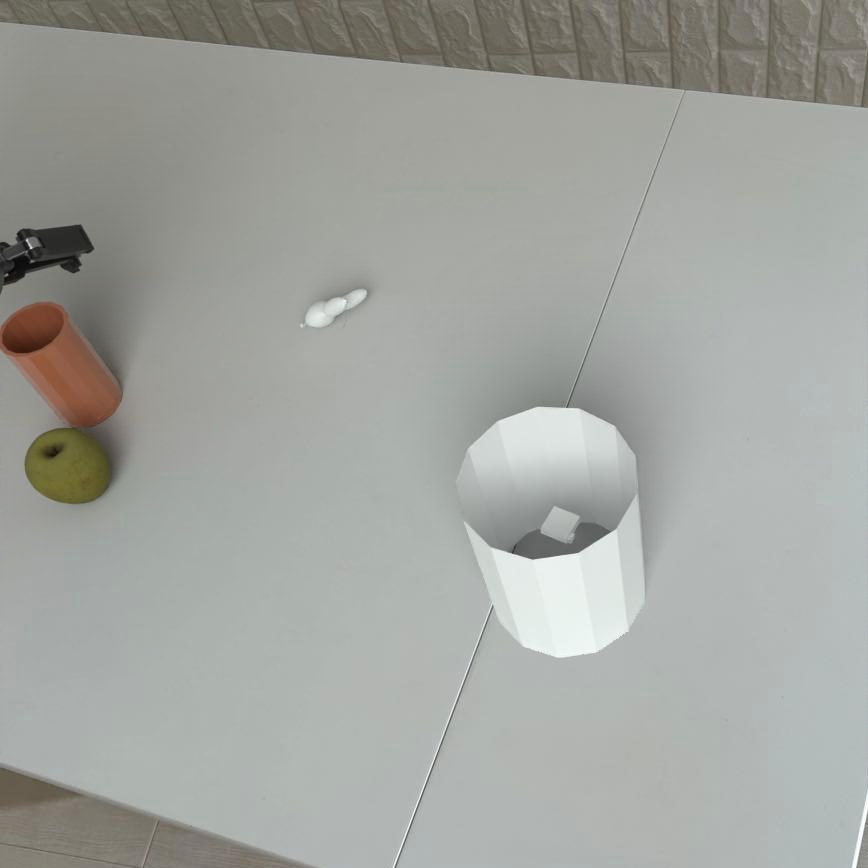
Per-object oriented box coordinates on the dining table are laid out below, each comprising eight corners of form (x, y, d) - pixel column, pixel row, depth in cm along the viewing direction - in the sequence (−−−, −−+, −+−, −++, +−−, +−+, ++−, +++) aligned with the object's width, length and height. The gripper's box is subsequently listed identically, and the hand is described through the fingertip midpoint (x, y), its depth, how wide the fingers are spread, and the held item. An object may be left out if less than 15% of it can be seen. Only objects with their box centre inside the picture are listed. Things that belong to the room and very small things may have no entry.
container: (600, 682, 92) (582, 586, 77) (463, 619, 97) (420, 517, 82) (671, 553, 98) (667, 440, 83) (538, 499, 103) (512, 383, 88)
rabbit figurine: (310, 305, 120) (362, 275, 117) (328, 336, 121) (380, 307, 118) (284, 319, 115) (338, 288, 112) (303, 351, 116) (357, 321, 113)
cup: (49, 428, 116) (-13, 357, 105) (69, 376, 119) (11, 302, 109) (111, 428, 115) (54, 356, 104) (130, 375, 118) (77, 300, 108)
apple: (75, 451, 114) (40, 411, 107) (136, 466, 111) (104, 426, 105) (37, 508, 110) (-1, 470, 104) (99, 525, 108) (64, 487, 102)
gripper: (-181, 379, 83) (-94, 377, 104) (112, 248, 87) (141, 270, 108) (-238, 291, 82) (-138, 306, 102) (64, 161, 85) (102, 201, 106)
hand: (5, 288), depth 105 cm, fingers open, 13 cm apart
